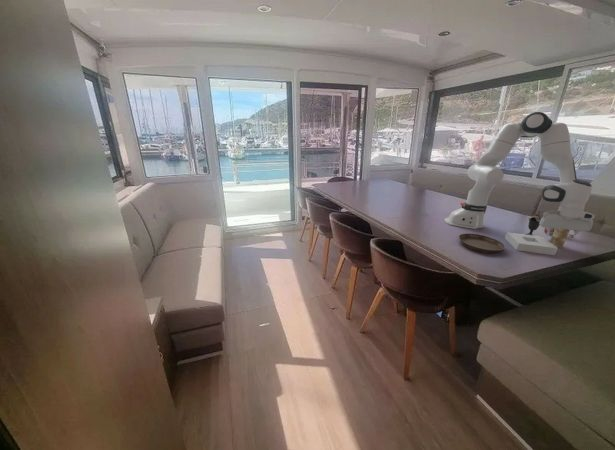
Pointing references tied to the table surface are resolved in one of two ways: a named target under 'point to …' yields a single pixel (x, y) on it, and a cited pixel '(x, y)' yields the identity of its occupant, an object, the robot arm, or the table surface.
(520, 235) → the socket block
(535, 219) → the sundae
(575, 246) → the table surface
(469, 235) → the plant saucer
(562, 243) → the birch peg
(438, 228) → the table surface
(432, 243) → the table surface
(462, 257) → the table surface
